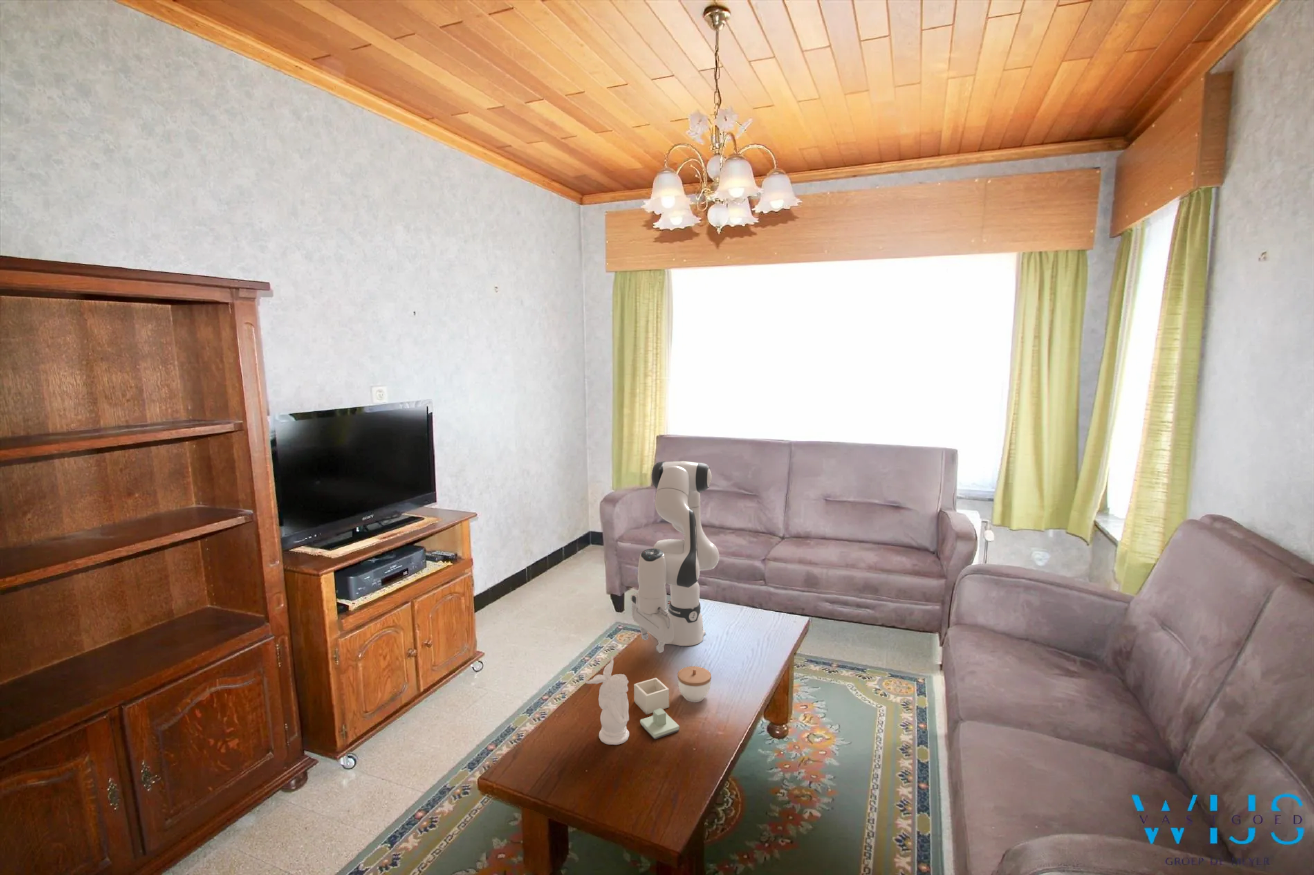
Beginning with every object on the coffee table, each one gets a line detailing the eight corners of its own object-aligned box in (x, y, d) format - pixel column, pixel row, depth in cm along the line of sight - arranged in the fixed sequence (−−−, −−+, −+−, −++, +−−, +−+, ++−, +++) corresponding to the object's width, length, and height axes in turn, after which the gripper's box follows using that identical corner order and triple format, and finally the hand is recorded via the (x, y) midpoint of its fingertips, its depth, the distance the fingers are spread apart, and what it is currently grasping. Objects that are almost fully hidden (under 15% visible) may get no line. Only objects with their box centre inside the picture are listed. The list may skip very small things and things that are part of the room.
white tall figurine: (631, 747, 171) (631, 673, 168) (586, 751, 169) (585, 677, 166) (626, 721, 183) (626, 652, 179) (584, 725, 181) (583, 655, 178)
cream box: (634, 701, 193) (634, 684, 192) (656, 695, 197) (656, 677, 196) (646, 714, 186) (646, 696, 185) (669, 707, 190) (669, 689, 189)
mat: (641, 725, 181) (641, 723, 181) (664, 717, 185) (664, 715, 185) (654, 739, 174) (654, 737, 174) (678, 731, 178) (678, 729, 178)
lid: (640, 723, 181) (640, 708, 180) (664, 714, 185) (664, 700, 184) (654, 738, 174) (654, 723, 173) (679, 729, 178) (679, 714, 177)
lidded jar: (708, 708, 190) (709, 679, 189) (674, 704, 192) (674, 676, 191) (712, 690, 200) (713, 663, 199) (680, 686, 202) (680, 659, 201)
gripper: (678, 612, 180) (678, 656, 182) (645, 589, 198) (645, 630, 200) (660, 617, 177) (660, 662, 179) (628, 593, 195) (628, 634, 197)
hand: (652, 645), depth 190 cm, fingers open, 8 cm apart
